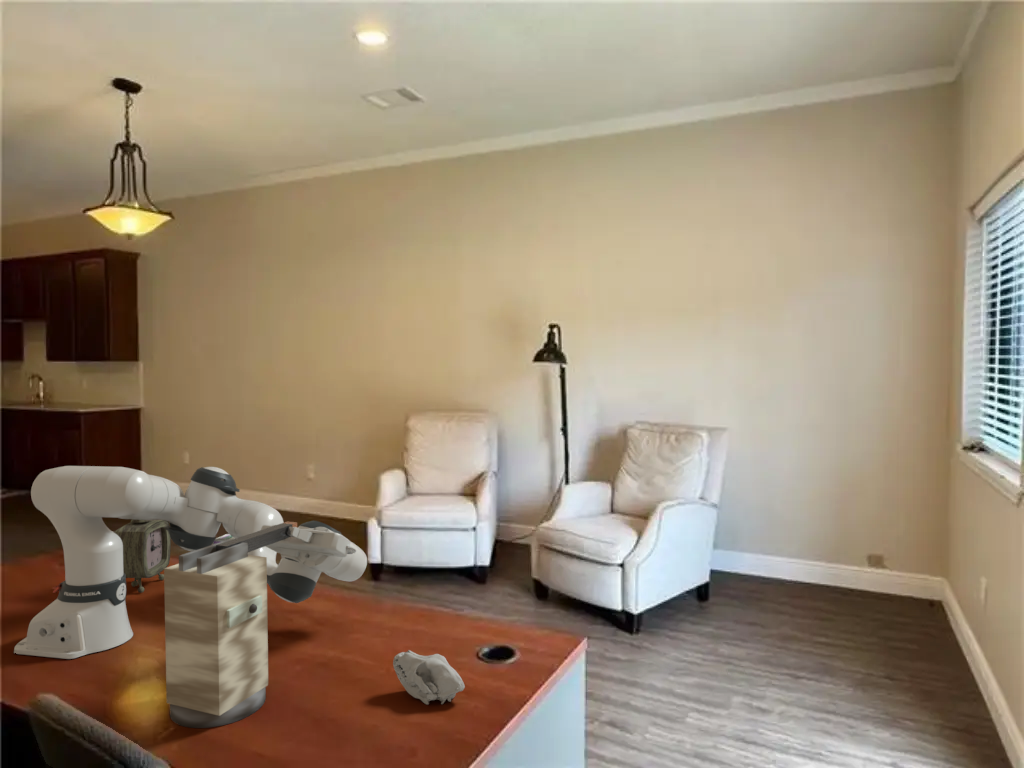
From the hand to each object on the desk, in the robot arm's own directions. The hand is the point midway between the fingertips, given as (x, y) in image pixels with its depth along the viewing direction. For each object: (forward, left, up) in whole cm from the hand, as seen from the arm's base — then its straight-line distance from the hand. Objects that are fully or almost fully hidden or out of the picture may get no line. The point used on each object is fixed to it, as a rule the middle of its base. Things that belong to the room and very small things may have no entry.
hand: (282, 529), depth 141 cm
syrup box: (-31, +47, -28) cm, 63 cm away
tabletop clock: (-56, +49, -28) cm, 79 cm away
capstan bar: (-2, -6, -2) cm, 7 cm away
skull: (+31, -12, -28) cm, 44 cm away
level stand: (-6, -16, -28) cm, 33 cm away
